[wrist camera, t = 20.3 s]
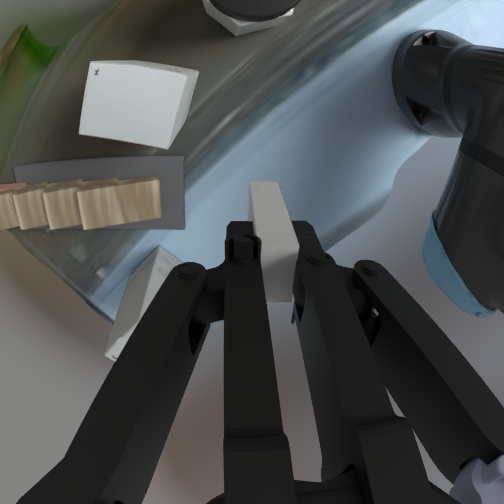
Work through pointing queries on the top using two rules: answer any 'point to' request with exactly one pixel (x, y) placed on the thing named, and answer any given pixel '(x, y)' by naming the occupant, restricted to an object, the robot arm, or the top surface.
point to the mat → (124, 168)
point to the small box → (136, 101)
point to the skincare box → (139, 297)
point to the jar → (249, 13)
